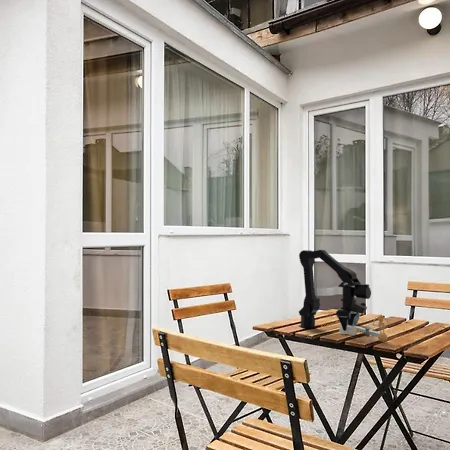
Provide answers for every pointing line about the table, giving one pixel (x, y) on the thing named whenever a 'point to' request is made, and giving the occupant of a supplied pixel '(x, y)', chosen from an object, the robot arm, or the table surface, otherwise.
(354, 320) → the flower pot
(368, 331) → the rail
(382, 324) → the figurine
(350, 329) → the cream rectangular block
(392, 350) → the table surface
